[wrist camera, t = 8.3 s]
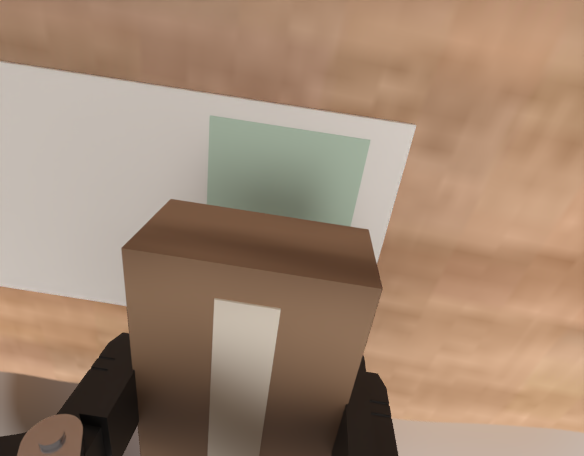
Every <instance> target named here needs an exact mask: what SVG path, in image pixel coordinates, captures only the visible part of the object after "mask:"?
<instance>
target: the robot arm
mask: <svg viewBox="0 0 584 456" xmlns="http://www.w3.org/2000/svg"><path fill="white" fill-rule="evenodd" d="M138 423H139V412H138V401H137V390H136V379H135V370H133V369H132V359H131V348H130V337H129V334H128V333H122V334H120V335H119V336H118V337H116V338H115V339H113V340H112V341H111V342H109V343H108V345H107V346H106V347H105V349H104V350H103V351H102V353H101V354H100V356H99V358H98V359H97V360H96V361H95V362H94V364H93V365H92V367H91V369H89V371H88V372H87V373H86V375H85V376H84V378H83V379H82V380H81V382H80V383H79V385H78V386H77V387H76V389H75V390H74V392H73V393H72V394H71V396H70V397H69V398H68V400H67V401H66V402H65V404H64V405H63V407H62V408H61V409H60V411H59V412H58V413H57V414H56V415H54V416H50V417H48V418H46V419H44V420H42V421H40V422H38V423H37V424H35V425H34V426H33V427H32V428H31V429H30V430H29V431H28V432H25V433H22V434H16V435H10V436H3V437H0V456H122V455H123V453H124V451H125V449H126V447H127V445H128V443H129V441H130V439H131V437H132V435H133V433H134V431H135V429H136V427H137V425H138ZM332 456H398V451H397V446H396V440H395V434H394V429H393V423H392V419H391V412H390V406H389V401H388V395H387V389H386V387H385V385H384V383H383V382H382V380H381V378H380V377H379V375H378V374H376V373H370V372H366V368H365V360H364V356H362V359H361V363H360V366H359V369H358V373H357V376H356V379H355V383H354V386H353V389H352V393H351V396H350V399H349V403H348V404H346V405H345V409H344V412H343V415H342V419H341V422H340V426H339V429H338V432H337V436H336V439H335V443H334V446H333V449H332Z"/></svg>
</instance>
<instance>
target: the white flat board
mask: <svg viewBox="0 0 584 456" xmlns="http://www.w3.org/2000/svg"><path fill="white" fill-rule="evenodd" d="M415 129H416V125H415V124H411V123H405V122H398V121H391V120H385V119H378V118H372V117H365V116H359V115H352V114H346V113H339V112H333V111H326V110H320V109H313V108H307V107H300V106H293V105H287V104H280V103H274V102H267V101H261V100H254V99H248V98H241V97H235V96H228V95H222V94H215V93H209V92H202V91H195V90H189V89H182V88H176V87H169V86H163V85H156V84H150V83H143V82H137V81H130V80H124V79H117V78H110V77H104V76H97V75H91V74H84V73H78V72H71V71H65V70H58V69H52V68H45V67H39V66H32V65H26V64H19V63H12V62H6V61H0V286H2V287H9V288H15V289H21V290H28V291H34V292H40V293H47V294H53V295H59V296H66V297H72V298H78V299H85V300H91V301H98V302H104V303H110V304H117V305H123V306H127V305H126V294H125V283H124V273H123V262H122V251H121V248H122V247H123V246H124V245H125V244H126V243H127V242H128V241H129V240H130V239H131V238H132V237H133V236H134V235H135V234H136V233H137V232H138V231H139V230H140V229H141V228H142V227H143V226H144V225H145V224H146V223H147V222H148V221H149V220H150V219H151V218H152V217H153V216H154V215H155V214H156V213H157V212H158V211H159V210H160V209H161V208H162V207H163V206H164V205H165V204H166V203H167V202H168V201H169V200H170V199H175V200H182V201H188V202H195V203H201V204H208V205H214V206H220V207H227V208H233V209H240V210H246V211H253V212H259V213H266V214H272V215H279V216H285V217H292V218H298V219H305V220H311V221H317V222H324V223H330V224H337V225H343V226H350V227H356V228H363V229H369V233H370V237H371V242H372V246H373V250H374V255H375V259H376V263H377V262H378V259H379V255H380V252H381V248H382V245H383V241H384V238H385V234H386V231H387V227H388V224H389V220H390V216H391V213H392V209H393V206H394V202H395V199H396V195H397V192H398V188H399V185H400V181H401V178H402V174H403V171H404V167H405V164H406V160H407V157H408V153H409V150H410V146H411V143H412V139H413V136H414V132H415Z"/></svg>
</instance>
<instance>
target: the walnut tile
mask: <svg viewBox="0 0 584 456" xmlns="http://www.w3.org/2000/svg"><path fill="white" fill-rule="evenodd" d="M121 251H122V262H123V273H124V283H125V294H126V305H127V316H128V326H129V337H130V348H131V359H132V369H133V370H135V379H136V390H137V401H138V412H139V423H138V434H139V445H140V455H141V456H332V449H333V446H334V443H335V439H336V436H337V432H338V429H339V426H340V422H341V419H342V415H343V412H344V409H345V405H346V404H348V403H349V399H350V396H351V393H352V389H353V386H354V383H355V379H356V376H357V373H358V369H359V366H360V363H361V359H362V356H363V353H364V349H365V346H366V343H367V339H368V336H369V333H370V329H371V326H372V323H373V319H374V316H375V312H376V309H377V306H378V302H379V299H380V296H381V292H382V285H381V280H380V276H379V272H378V267H377V263H376V259H375V255H374V250H373V246H372V242H371V237H370V233H369V229H363V228H356V227H350V226H343V225H337V224H330V223H324V222H317V221H311V220H305V219H298V218H292V217H285V216H279V215H272V214H266V213H259V212H253V211H246V210H240V209H233V208H227V207H220V206H214V205H208V204H201V203H195V202H188V201H182V200H175V199H170V200H169V201H168V202H167V203H166V204H165V205H164V206H163V207H162V208H161V209H160V210H159V211H158V212H157V213H156V214H155V215H154V216H153V217H152V218H151V219H150V220H149V221H148V222H147V223H146V224H145V225H144V226H143V227H142V228H141V229H140V230H139V231H138V232H137V233H136V234H135V235H134V236H133V237H132V238H131V239H130V240H129V241H128V242H127V243H126V244H125V245H124V246H123V247H122V248H121Z"/></svg>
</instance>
